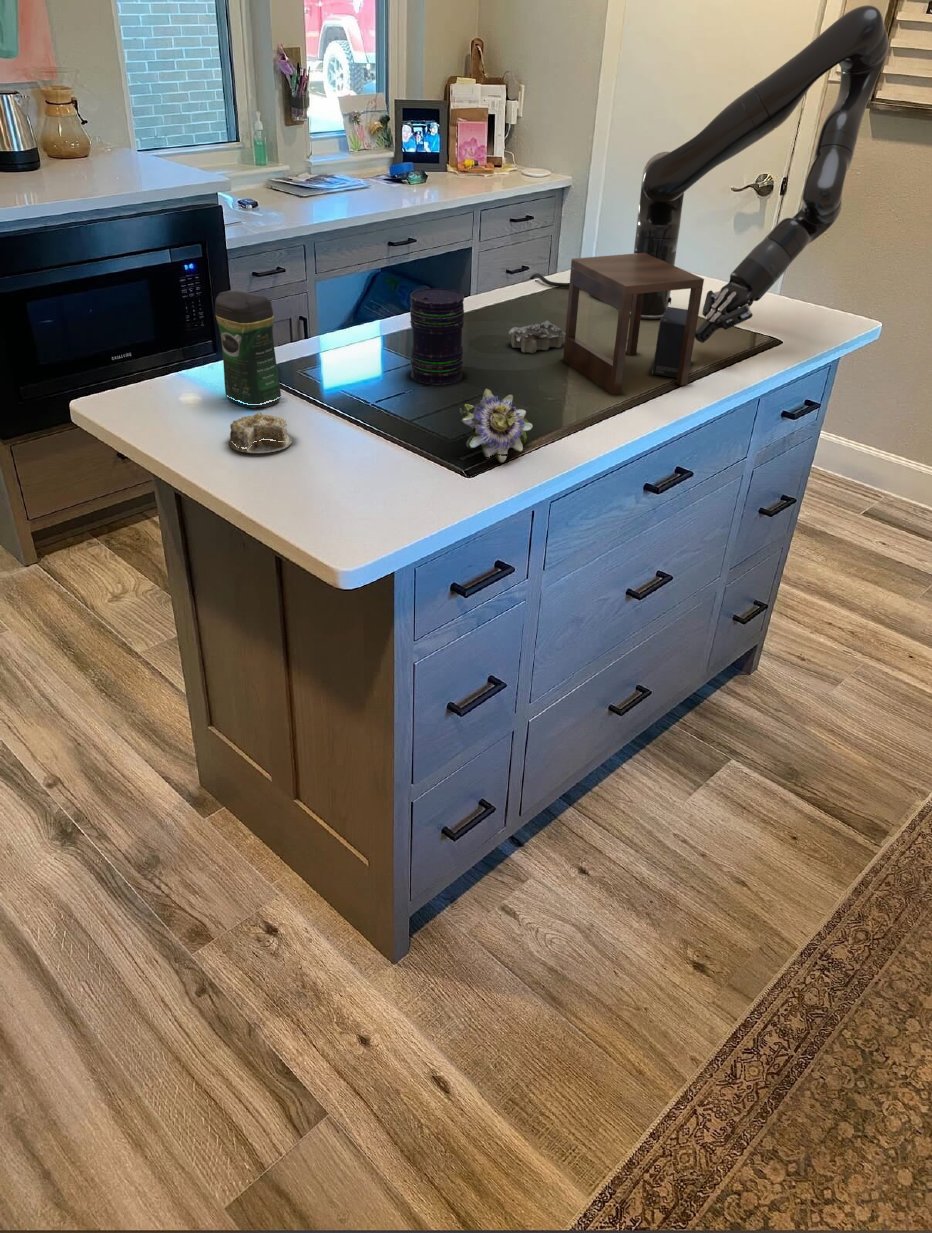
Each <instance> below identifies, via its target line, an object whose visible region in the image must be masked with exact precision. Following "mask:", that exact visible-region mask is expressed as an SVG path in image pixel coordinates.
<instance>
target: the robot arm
mask: <svg viewBox="0 0 932 1233" xmlns="http://www.w3.org/2000/svg"><path fill="white" fill-rule="evenodd" d="M889 49H890V41H889V36H888V31H887V29H886V25H885V21H884V17H883V15H882V12H881V11H880V9H879V8H878V7H876V6H874V5H868V4H867V5H861V6H858V7H855V8H853V9H851V10H849V11H848V12H846V13H845V14H843V15H842V16H841V17H840V18H838V19H837V20H835V21H834V22H833V23H832V24H831V25H830V26H828V27H827V28H826V29H825V30H824V31H823V32H822V33H820V34H819V35H818V36H817V37H815V39H813V41H811V42H810V43H809V44H808V45H806V46H805V47H804V48H803V49H802V50H801V51H799V52H798V53H797V54H795V56H793V57H792V58H790V59H789V60H787V61H786V62H785V63H784V64H782V65H781V66H780V67H779V68H777V69H775V71H773V72H771V73H770V74H769V75H768V76H766V77H765V78H763V79H762V80H761V81H759V82H757V83H756V84H754V85H753V86H752V87H750V88H749V89H747V90H746V91H745V92H743V93H741V94H740V95H739V96H738V97H737V98H735V99H733V101H731V102H730V103H729V104H728V105H726V107H724V108H723V110H722V111H720V112H719V113H718V114H717V115H716V116H715V117H714V118H713V119H711V121H710V122H709V123H708V124H706V126H705V127H704V128H703V129H702V130H701V131H700V132H699V133H697V134H696V135H695V136H694V137H693V138H690V139H689V140H687V141H686V142H685V143H682V144H681V145H680V146H678V147H677V148H675V149H673V150H672V151H661V152H658V153H656V154H654V155H653V156H651V157H650V158H649V160H648V161H647V162H646V164H645V166H644V168H643V172H642V176H641V177H642V178H641V184H640V185H641V187H640V194H639V204H638V210H637V220H636V228H635V239H634V245H633V246H634V248H633V254H636V253H646V254H649V255H651V256H653V257H655V258H658V259H660V260H662V261H664V262H667V263H669V264H671V265H674V266H675V264H676V257H677V249H678V242H679V237H680V236H679V234H680V229H681V220H682V213H683V212H682V211H683V204H684V196H685V192H687V190H689V189H690V188H691V187H693V185H694V184H695V183H697V182H698V181H700V180H701V179H702V178H704V176H706V175H707V174H708V173H709V172H710V171H712V170H713V169H714V168H716V167H718V166H720V165H721V164H722V163H724V162H726V161H728V160H730V159H732V158H733V157H735V156H736V155H738V154H740V153H741V152H743V151H744V150H746V149H748V148H749V147H751V146H753V145H754V144H756V143H757V142H758V141H760V140H762V139H764V137H766V136H768V135H769V134H770V133H772V132H773V131H774V130H775V129H777V128H779V127H780V126H782V125H783V124H784V123H785V122H786V121H787V119H788V118H789V117H791V115H792V114H793V112H794V111H795V109H796V108H797V107H798V105H799V104H800V103H801V101H802V99H803V98H804V97H805V95H806V94H807V93H808V91H809V90H810V89H811V87H812V86H813V85H814V84H815V83H816V82H817V81H818V80H819V79H820V78H821V77H822V76H823V75H825V74H826V73H827V72H829V71H830V70H832V69H833V68H835V67H836V66H837V65H838V66H839V67H840V79H839V80H840V81H839V89H838V94H837V97H836V100H835V103H834V105H833V107H832V108H831V109H830V111H829V112H828V114H827V116H826V117H825V119H824V121H823V123H822V126H821V128H820V131H819V134H818V138H817V142H816V147H815V151H814V154H813V160H812V164H811V166H810V169H809V171H808V174H807V177H806V179H805V183H804V187H803V191H802V195H801V196H802V199H801V200H802V202H801V203H802V206H801V208H800V209H799V211H798V212H797V213H795V214H794V216H792V217H784V218H783V219H782V220H781V221H779V222H778V223H777V224H776V225H775V226H774V227H773V229H772V230H770V231H769V233H768V234H767V235H766V236H765V237H764V238H763V239H762V240H761V241H760V242H759V243H758V244H757V245H755V246H754V248H753V249H752V250H751V251H750V252H749V253H748V254H747V255H746V256H745V258H743V259H742V260H741V262H740V263H739V264H738V265H737V266H736V268H734V270H733V271H731V273H730V274H729V280H728V283H727V284H725V285H723V286H722V287H721V288H720V290H719V291H715V292H714V291H713V290H709V291H707V293H706V295H705V300H704V304H703V307H702V312H701V313H702V316H704V321H703V322H702V323H701V324H700V325H699V326H698V327H697V328H696V333H695V340H696V341H698V342H699V343H701V344H704V343H705V342H706V341H708V340H709V339H710V338H711V336H712V335H713V334H714V333H715V332H716V331H717V330H720V329H723V330H726V331H727V330H728V329H731V328H733V327H734V326H737V325H740V324H741V323H743V322H745V321H747V320H750V319H751V318H752V317H753V313H752V311H751V306H752V305H753V303H754V302H758V301H760V300H761V299H762V298H763V297H764V296H765V295H766V294H767V292H768V291H769V290H770V289H771V288H772V287H773V285H775V283H776V282H777V281H778V280H779V279H780V278H781V277H782V276H783V274H784V273H785V272H786V270H787V269H788V268H789V266H790V265H791V264H792V263H793V261H794V260H796V258H797V257H798V256H799V255H800V254H801V253H802V252H803V251H804V249H805V248H806V247H808V245H810V244H811V243H812V242H814V241H816V240H817V239H818V238H819V237H820V236H822V235H823V234H824V233H825V232H826V231H828V230H829V229H830V228H831V227H832V226H833V224H834V223H835V222H836V221H837V219H838V218H839V216H840V214H841V212H842V211H841V210H842V204H843V203H842V199H843V190H844V184H845V181H846V180H845V179H846V175H847V172H848V171H849V169H850V167H851V164H852V161H853V158H854V154H855V150H856V145H857V141H858V137H859V134H860V129H861V125H862V122H863V119H864V115H865V112H866V109H867V107H868V106H867V105H868V103H869V100H870V98H871V95H872V93H873V91H874V87H875V85H876V83H877V80H878V78H879V76H880V73H881V72H882V69H883V67H884V64H885V62H886V59H887V57H888V53H889ZM536 278H538V279H539V280H540V281H541V282H542V283H544V284H545V285H548V286H551V287H557V288H569V285H570V282H558V281H557V282H556V281H551V280H549V279H547V278H546V277H544V276H543V275H542V274H541V273H538V272H534V273H532V275H530V277H529V278H528V279H529V280H534V279H536ZM671 292H672V290H671V291H661V292H650V293H644V296H643V304H642V312H641V320H661V318H662V316H663V315H664V313H665V311H666V309H667V307H670V305H672V297H671ZM632 300H633V294H632ZM599 301H600V302H603V301H601V300H599ZM603 303H604V302H603ZM631 309H632V302H631ZM630 317H631V310H630Z"/></svg>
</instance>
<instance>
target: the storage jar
mask: <svg viewBox="0 0 932 1233" xmlns="http://www.w3.org/2000/svg"><path fill="white" fill-rule="evenodd" d="M410 301H411V302H410V309H409V310H410V311H409V312H410V313H409V316H410V321H409V322H410V327H411V334H412V335H411V347H410V364H411V365H410V366H411V374H410V376H411V378H412V379H413V380H414V381H416V382H417V383H421V384H425V385H432V386H433V385H436V386H441V385H449V384H454V383H457V382H459V381H460V380H461V379H462V378H463V373H462V369H463V363H464V356H463V355H464V348H463V346H462V342H463V341H462V340H463V338H462V337H463V336H462V335H463V328H464V324H465V321H464V317H465V309H464V301H465V295H464V294H463V293H462V292H461V291H458V290H455V289H450V288H440V287H439V288H438V287H435V288H434V287H433V288H431V287H430V288H429V287H428V288H422V289H418V290H415V291H413V292H411V293H410Z"/></svg>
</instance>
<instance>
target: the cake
mask: <svg viewBox="0 0 932 1233" xmlns="http://www.w3.org/2000/svg"><path fill="white" fill-rule="evenodd" d="M286 421H287V420H285V419H284V418H282V417H279V416H277V415H272V414H262V412H257V413H256V414H253V415H246V416H242V417H241V418H238V419H237V420H233V421H232V423H231V424H230V425H229V426H230V432H229V437H230V438H229V441H228V446H229V447H230V448H231V449H233V450H234V451H236V452H241V453H244V454H245V453H247V454H267V453H274V452H278V451H281V450H285V449H287V448H288V447H289V446H290V445H292V443H293V440H292V438H291V437H290V436H289V435H288V430H287V426H288V424H287V422H286ZM286 437H287V438H286ZM263 438H264V439H273V440H276V441H270V440H261V439H263ZM285 439H286V441H285ZM259 440H261V441H259ZM231 441H233V443H234V444H236V446H237V447H236V446H235V445H234V444H233V443H232V442H231ZM254 441H257V442H254ZM278 441H285V442H278ZM253 442H254V443H253ZM251 445H252V446H251ZM250 446H251V447H250ZM238 447H239V448H238ZM241 447H244V448H245V447H247V449H248V448H249V447H250V448H249V449H248V450H247V449H242V448H241Z"/></svg>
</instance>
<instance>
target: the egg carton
mask: <svg viewBox="0 0 932 1233" xmlns="http://www.w3.org/2000/svg"><path fill="white" fill-rule="evenodd" d="M565 333H566V331H563V329H562V328H559V327H558V326H557V325H555V324H552V323H551V322H550V321H549V320H545V321H542V322H540V323H535V324H532V323H531V324H529V325H525V326H522V327H518V326H514V327H512V328H510V330H509V331H508V335H511V341H510V342H511V344H510V345H511V347H512V348H514V349H515V348H517V349H521V350H520V351H521V352H522V353H530V354H534V353H536V352H537V351H539V350H540V351H541V350H542V351H547V350H549V349H550V348H557V349H559V348H562V346H563V338H565Z"/></svg>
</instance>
